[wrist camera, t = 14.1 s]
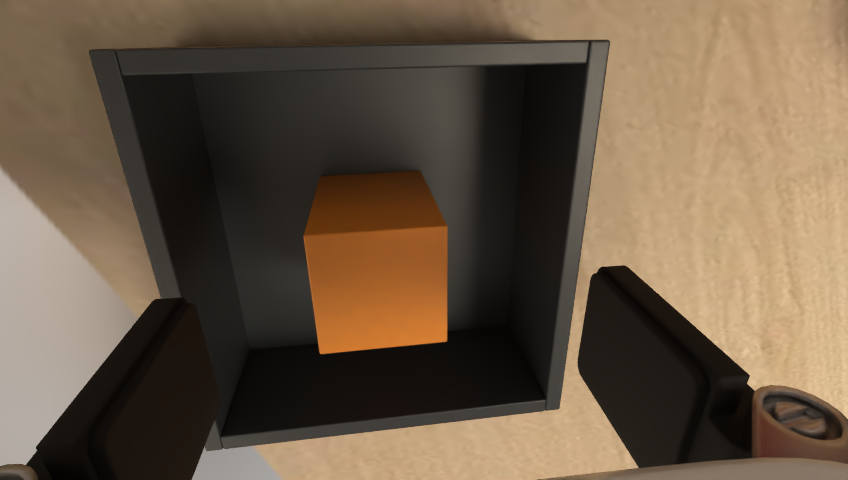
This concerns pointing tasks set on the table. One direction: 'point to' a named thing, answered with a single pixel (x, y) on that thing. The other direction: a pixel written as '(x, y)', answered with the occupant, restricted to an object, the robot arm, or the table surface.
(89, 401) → the robot arm
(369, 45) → the bin
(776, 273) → the table surface
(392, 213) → the orange block
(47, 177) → the table surface
